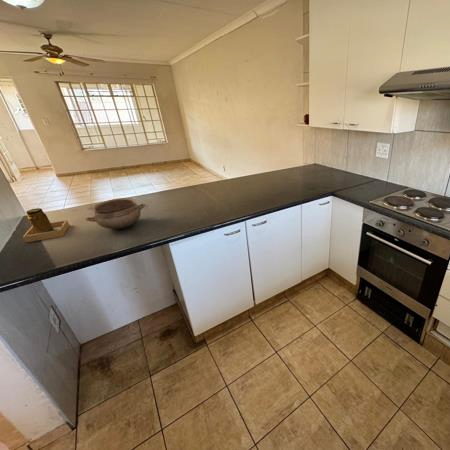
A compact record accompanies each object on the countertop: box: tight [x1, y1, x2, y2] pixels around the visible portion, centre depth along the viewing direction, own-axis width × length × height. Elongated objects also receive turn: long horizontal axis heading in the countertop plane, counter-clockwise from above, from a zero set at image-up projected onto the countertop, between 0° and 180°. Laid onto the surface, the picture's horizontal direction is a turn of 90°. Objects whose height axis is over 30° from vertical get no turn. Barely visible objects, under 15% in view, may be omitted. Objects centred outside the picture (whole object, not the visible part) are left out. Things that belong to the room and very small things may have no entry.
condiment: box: [26, 207, 60, 234], centre depth 116 cm, size 7×8×12 cm
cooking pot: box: [85, 197, 146, 230], centre depth 123 cm, size 25×19×12 cm
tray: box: [22, 219, 70, 243], centre depth 119 cm, size 13×12×3 cm
